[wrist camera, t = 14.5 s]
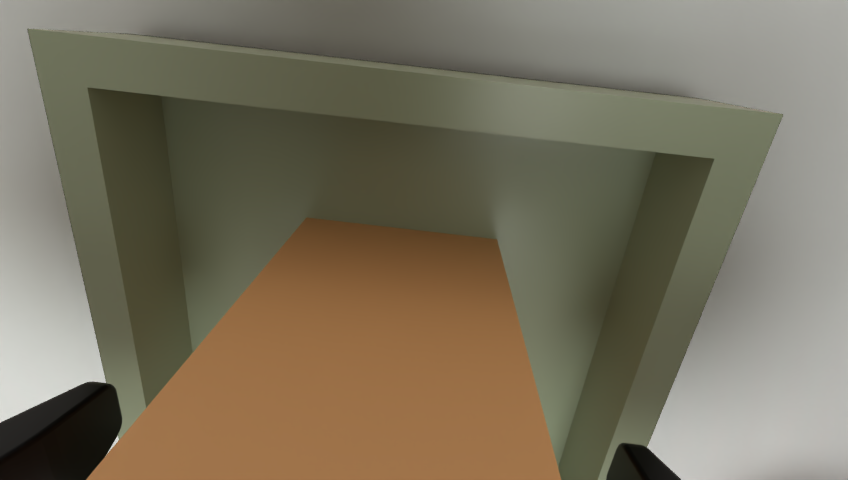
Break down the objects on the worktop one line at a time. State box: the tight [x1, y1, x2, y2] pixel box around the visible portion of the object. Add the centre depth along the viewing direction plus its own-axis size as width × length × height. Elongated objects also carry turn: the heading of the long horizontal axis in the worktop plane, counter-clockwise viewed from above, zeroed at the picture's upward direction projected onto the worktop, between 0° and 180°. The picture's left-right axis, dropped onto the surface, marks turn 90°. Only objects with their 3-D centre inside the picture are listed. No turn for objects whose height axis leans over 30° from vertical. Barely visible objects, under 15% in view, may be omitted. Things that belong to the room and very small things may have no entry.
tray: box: [27, 29, 783, 480], centre depth 11 cm, size 12×12×3 cm
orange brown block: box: [86, 217, 561, 480], centre depth 8 cm, size 4×5×7 cm
